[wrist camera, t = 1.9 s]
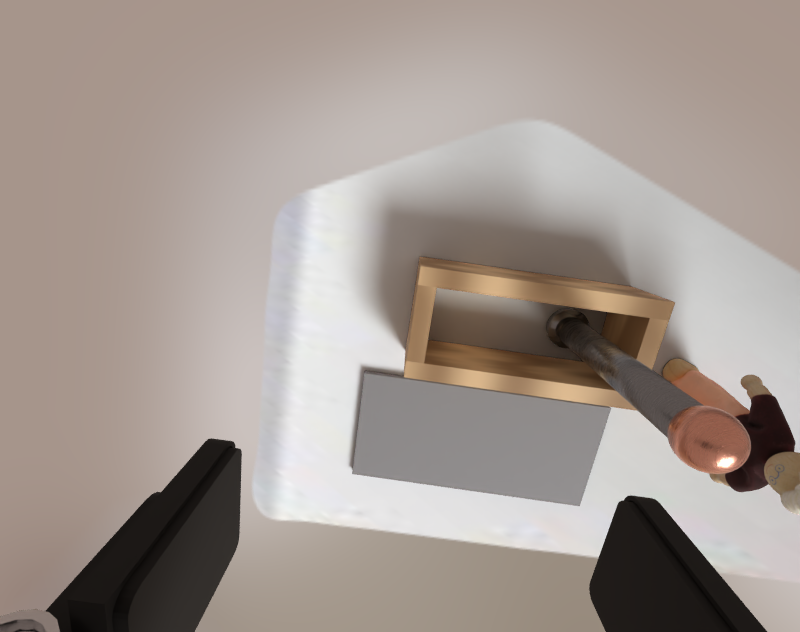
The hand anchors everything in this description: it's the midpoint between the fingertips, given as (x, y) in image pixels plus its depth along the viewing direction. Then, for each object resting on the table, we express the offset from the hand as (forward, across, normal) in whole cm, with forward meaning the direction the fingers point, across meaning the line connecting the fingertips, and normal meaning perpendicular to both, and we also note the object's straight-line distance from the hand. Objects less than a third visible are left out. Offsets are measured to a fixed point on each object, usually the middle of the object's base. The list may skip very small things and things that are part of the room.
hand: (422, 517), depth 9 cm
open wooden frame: (+21, -8, 0) cm, 22 cm away
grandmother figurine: (+21, -22, +4) cm, 31 cm away
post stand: (+21, -12, 0) cm, 24 cm away
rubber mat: (+21, -7, +11) cm, 25 cm away
